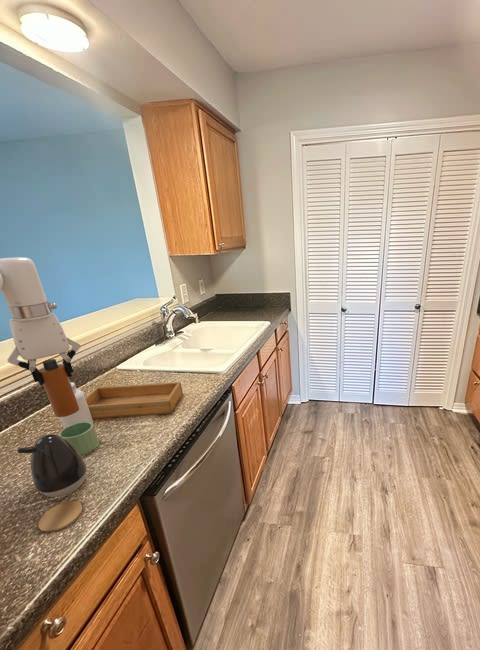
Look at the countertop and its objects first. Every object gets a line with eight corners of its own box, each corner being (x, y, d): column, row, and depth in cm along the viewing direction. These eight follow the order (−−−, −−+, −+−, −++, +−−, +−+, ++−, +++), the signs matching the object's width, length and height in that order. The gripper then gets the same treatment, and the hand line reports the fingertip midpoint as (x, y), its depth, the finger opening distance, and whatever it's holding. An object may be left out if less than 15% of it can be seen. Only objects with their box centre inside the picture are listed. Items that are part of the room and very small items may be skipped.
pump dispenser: (39, 488, 79) (14, 436, 73) (87, 468, 85) (68, 419, 79) (41, 512, 72) (15, 457, 66) (94, 489, 78) (74, 436, 72)
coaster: (33, 537, 66) (32, 536, 66) (45, 509, 73) (45, 507, 73) (78, 524, 69) (77, 522, 68) (86, 498, 76) (85, 496, 75)
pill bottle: (79, 435, 100) (63, 392, 94) (59, 432, 102) (41, 390, 96) (99, 421, 107) (85, 380, 101) (80, 419, 109) (65, 379, 103)
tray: (183, 394, 123) (180, 380, 121) (171, 414, 109) (168, 400, 107) (100, 400, 122) (96, 387, 119) (78, 422, 108) (72, 407, 105)
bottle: (52, 419, 85) (32, 366, 80) (58, 409, 90) (39, 359, 84) (76, 414, 87) (58, 362, 81) (81, 405, 92) (64, 355, 86)
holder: (62, 460, 89) (54, 441, 86) (70, 444, 96) (63, 425, 94) (96, 452, 92) (90, 433, 89) (102, 437, 99) (95, 418, 96)
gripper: (68, 303, 86) (88, 366, 93) (-18, 316, 75) (12, 386, 82) (76, 307, 81) (96, 372, 88) (-15, 321, 70) (16, 395, 77)
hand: (55, 378), depth 85 cm, fingers closed on bottle, 5 cm apart
